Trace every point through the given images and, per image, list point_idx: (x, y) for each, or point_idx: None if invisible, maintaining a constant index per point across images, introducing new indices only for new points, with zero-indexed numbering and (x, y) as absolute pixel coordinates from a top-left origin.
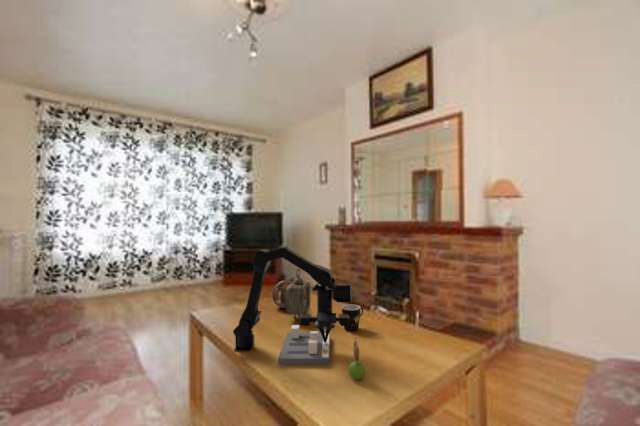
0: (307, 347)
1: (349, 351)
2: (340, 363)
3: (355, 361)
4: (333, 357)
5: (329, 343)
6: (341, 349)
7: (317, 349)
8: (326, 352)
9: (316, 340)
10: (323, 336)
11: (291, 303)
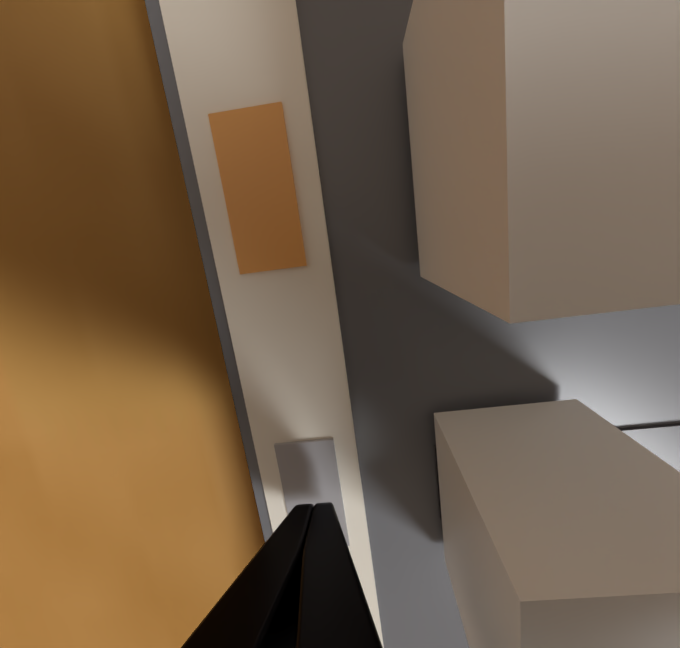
0: (608, 351)
1: (55, 445)
2: (65, 105)
3: None
4: (195, 271)
5: (262, 521)
6: (153, 483)
7: (419, 292)
8: (231, 164)
9: (533, 46)
10: (328, 600)
11: None
